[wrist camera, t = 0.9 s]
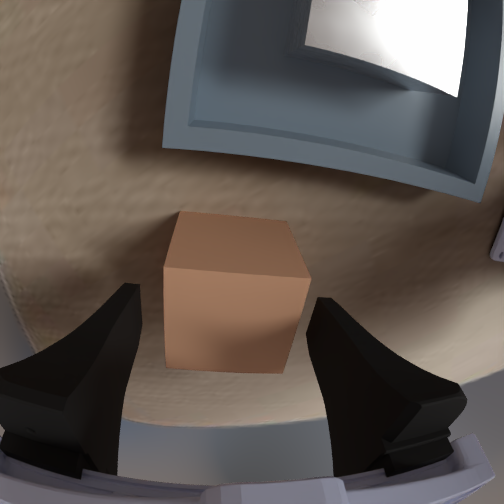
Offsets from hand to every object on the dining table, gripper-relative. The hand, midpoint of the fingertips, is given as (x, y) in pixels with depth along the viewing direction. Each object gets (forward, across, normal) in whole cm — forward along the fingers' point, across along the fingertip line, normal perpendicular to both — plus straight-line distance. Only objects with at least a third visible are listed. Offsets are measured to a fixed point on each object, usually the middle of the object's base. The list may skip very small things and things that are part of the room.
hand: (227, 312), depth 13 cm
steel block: (+3, -4, -13) cm, 14 cm away
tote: (+4, -4, -13) cm, 14 cm away
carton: (+4, 0, 0) cm, 4 cm away
